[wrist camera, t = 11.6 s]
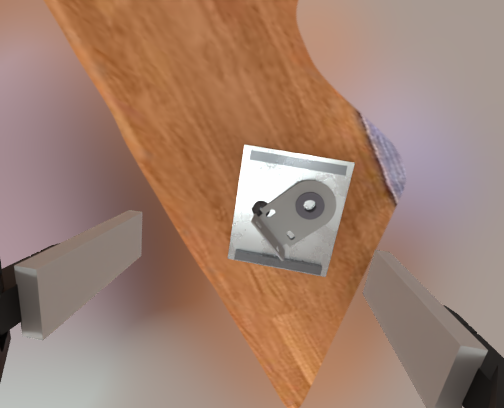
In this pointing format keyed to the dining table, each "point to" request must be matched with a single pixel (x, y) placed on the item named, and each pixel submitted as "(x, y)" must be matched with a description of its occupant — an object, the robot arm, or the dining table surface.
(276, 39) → the dining table surface
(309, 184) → the bracket
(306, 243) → the mount plate
